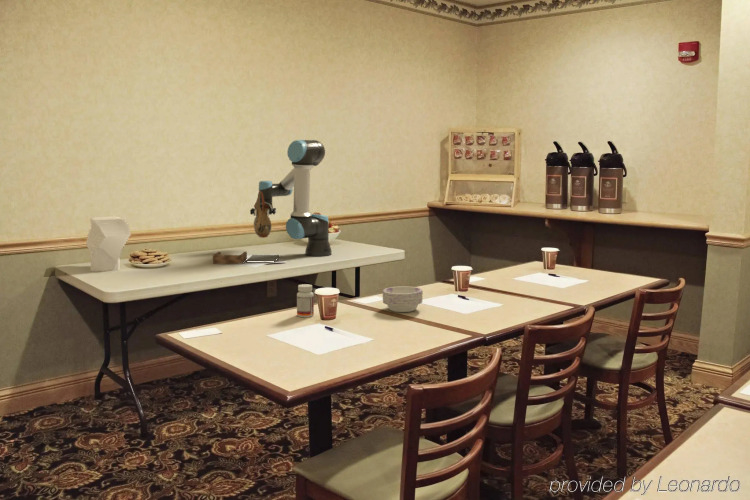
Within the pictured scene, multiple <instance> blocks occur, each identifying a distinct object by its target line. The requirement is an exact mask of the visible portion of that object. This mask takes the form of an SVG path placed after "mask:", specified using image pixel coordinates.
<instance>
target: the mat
mask: <svg viewBox="0 0 750 500" xmlns="http://www.w3.org/2000/svg"><path fill="white" fill-rule="evenodd" d="M277 258H278V259H279V258H280V254H252V255H251V256H250V257H247V260H246V262H247V261H274V262H275V261H276V259H277ZM278 259H277V260H278ZM276 262H277V261H276ZM276 262H275V263H276Z"/></svg>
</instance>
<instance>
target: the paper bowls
mask: <svg viewBox="0 0 750 500" xmlns="http://www.w3.org/2000/svg"><path fill="white" fill-rule="evenodd" d="M423 295H424V294H423V289H422V288H420V287H416V286H407V285H406V286H404V285H401V286H400V285H399V286H390V287H386V288H384V289H382V303H383V304H384V305H387V308H388V310H389V311H392V312H396V313H411V312H414V311H416V310H417V308H418V306H419V305H420V304H422V303H423Z"/></svg>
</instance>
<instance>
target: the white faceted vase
mask: <svg viewBox="0 0 750 500" xmlns="http://www.w3.org/2000/svg"><path fill="white" fill-rule="evenodd" d="M89 221H90V224H91V225H90V229H89V231H88V234H87V239H86V242H85V243H86V244H85V245H86V247H87V249H88V252H89V257H90V268H89V269H90V272H99V271H101V272H113V271H112V270H114V271H119V270H120V267H121V266H120V264H121V263H120V262H121V259H120V258H121V255H122V250H123V248H124V247H125V246H126V243H127V242H128V241H129V238H130V236H131V235H132V233H131V229H130V226H129V223H127V221H125V219H123V218H121V217H119V216H117V215H110V216H109V215H108V216H96V217H91V218H89ZM118 269H119V270H118Z"/></svg>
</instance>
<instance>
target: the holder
mask: <svg viewBox="0 0 750 500" xmlns="http://www.w3.org/2000/svg"><path fill="white" fill-rule="evenodd" d="M221 253H222V252H221V251H217V252H216V253H214V254H213V255H212V263H213V264H214V265H215V264H216V265H239V264H238V263H243V262H244V261H245V260H246V259H248V252H247V251H243V252H242V253H241V254H221ZM246 261H247V260H246ZM246 261H245V262H246ZM245 262H244V263H245ZM244 263H243V264H244Z"/></svg>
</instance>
